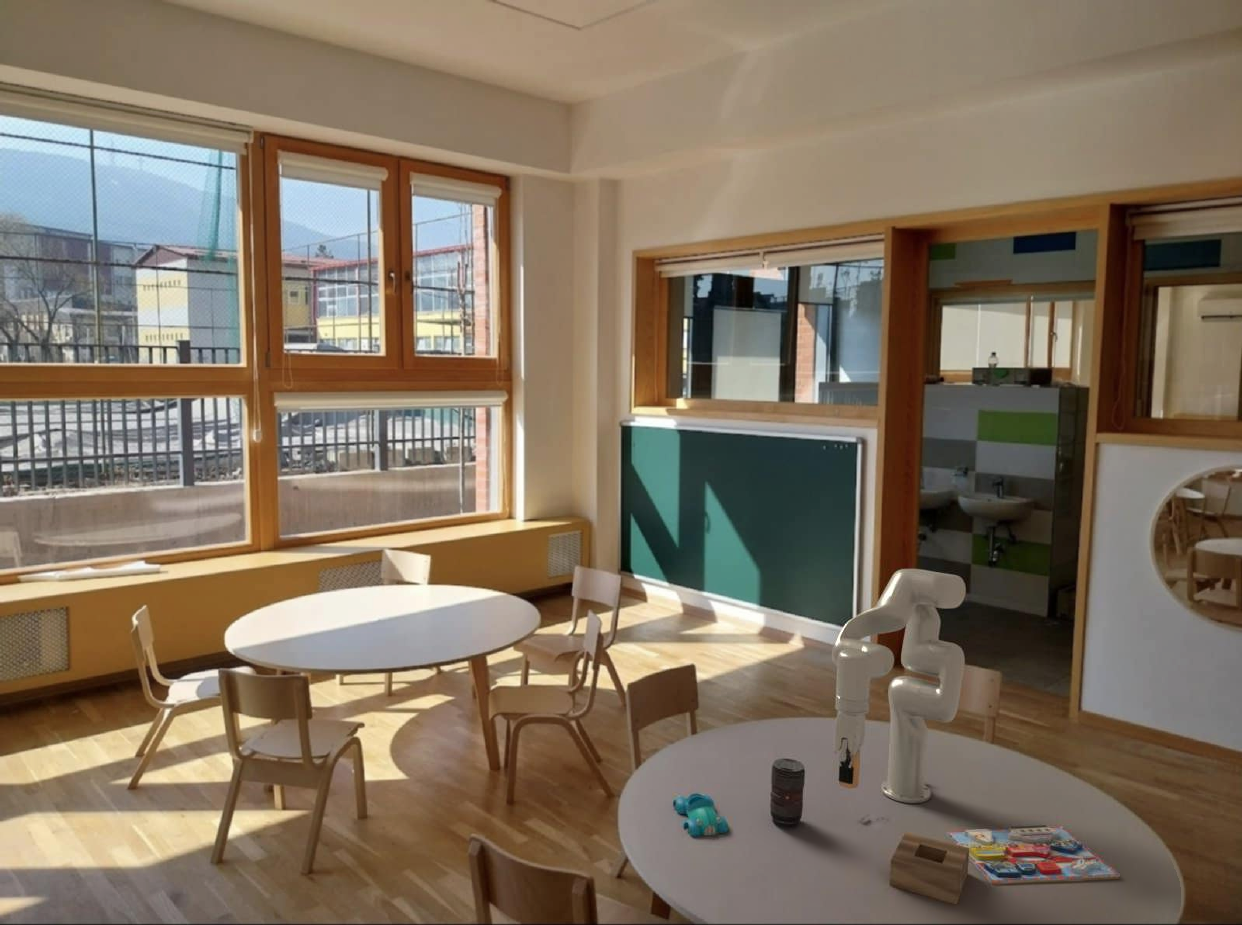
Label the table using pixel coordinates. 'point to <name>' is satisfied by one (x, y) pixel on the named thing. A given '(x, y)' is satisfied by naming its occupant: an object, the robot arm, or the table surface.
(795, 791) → the camera lens
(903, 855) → the socket block
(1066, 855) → the puzzle board
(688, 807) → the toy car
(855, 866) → the table surface
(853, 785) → the peg
